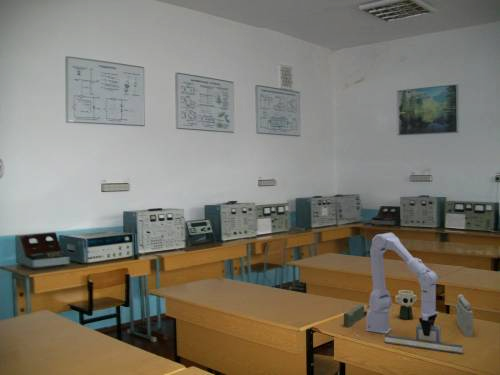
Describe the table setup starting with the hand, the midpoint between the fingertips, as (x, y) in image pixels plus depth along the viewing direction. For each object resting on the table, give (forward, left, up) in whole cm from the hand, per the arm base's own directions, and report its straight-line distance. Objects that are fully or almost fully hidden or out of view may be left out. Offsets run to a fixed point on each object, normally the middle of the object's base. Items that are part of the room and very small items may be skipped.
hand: (428, 333), depth 217 cm
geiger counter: (+10, +28, -4) cm, 30 cm away
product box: (0, 0, -4) cm, 4 cm away
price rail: (-1, -7, -4) cm, 8 cm away
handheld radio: (-36, +19, -5) cm, 41 cm away
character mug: (-16, +33, -4) cm, 37 cm away
